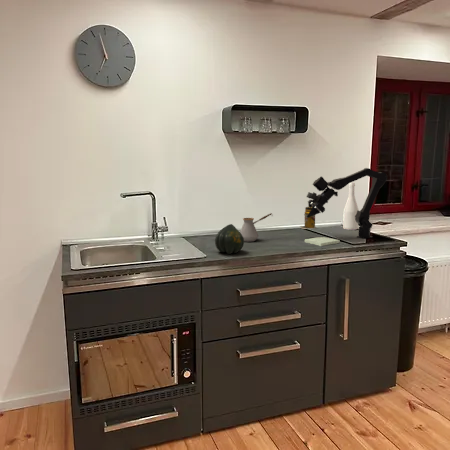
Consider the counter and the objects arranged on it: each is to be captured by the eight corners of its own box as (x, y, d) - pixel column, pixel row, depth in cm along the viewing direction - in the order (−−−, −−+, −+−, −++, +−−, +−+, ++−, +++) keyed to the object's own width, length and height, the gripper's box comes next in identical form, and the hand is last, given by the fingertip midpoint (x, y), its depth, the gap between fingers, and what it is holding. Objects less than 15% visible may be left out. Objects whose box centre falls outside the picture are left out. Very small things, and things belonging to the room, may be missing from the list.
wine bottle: (343, 230, 283) (345, 183, 278) (342, 227, 292) (343, 182, 287) (359, 230, 281) (360, 183, 276) (357, 227, 290) (358, 182, 286)
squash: (216, 246, 214) (234, 221, 216) (205, 242, 228) (222, 219, 230) (237, 262, 219) (254, 238, 222) (225, 257, 233) (241, 235, 235)
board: (322, 239, 255) (322, 236, 254) (339, 242, 244) (339, 240, 243) (304, 242, 247) (304, 239, 247) (321, 246, 236) (321, 243, 236)
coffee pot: (243, 243, 247) (243, 216, 245) (235, 239, 258) (235, 214, 255) (277, 239, 255) (277, 214, 252) (268, 236, 265) (268, 211, 263)
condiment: (317, 228, 252) (317, 207, 250) (303, 229, 251) (303, 208, 249) (313, 226, 260) (313, 206, 258) (299, 226, 258) (299, 206, 256)
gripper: (311, 186, 261) (292, 205, 262) (319, 188, 242) (299, 209, 244) (324, 198, 262) (305, 217, 264) (333, 202, 244) (313, 222, 245)
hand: (305, 216), depth 254 cm, fingers closed on condiment, 6 cm apart
